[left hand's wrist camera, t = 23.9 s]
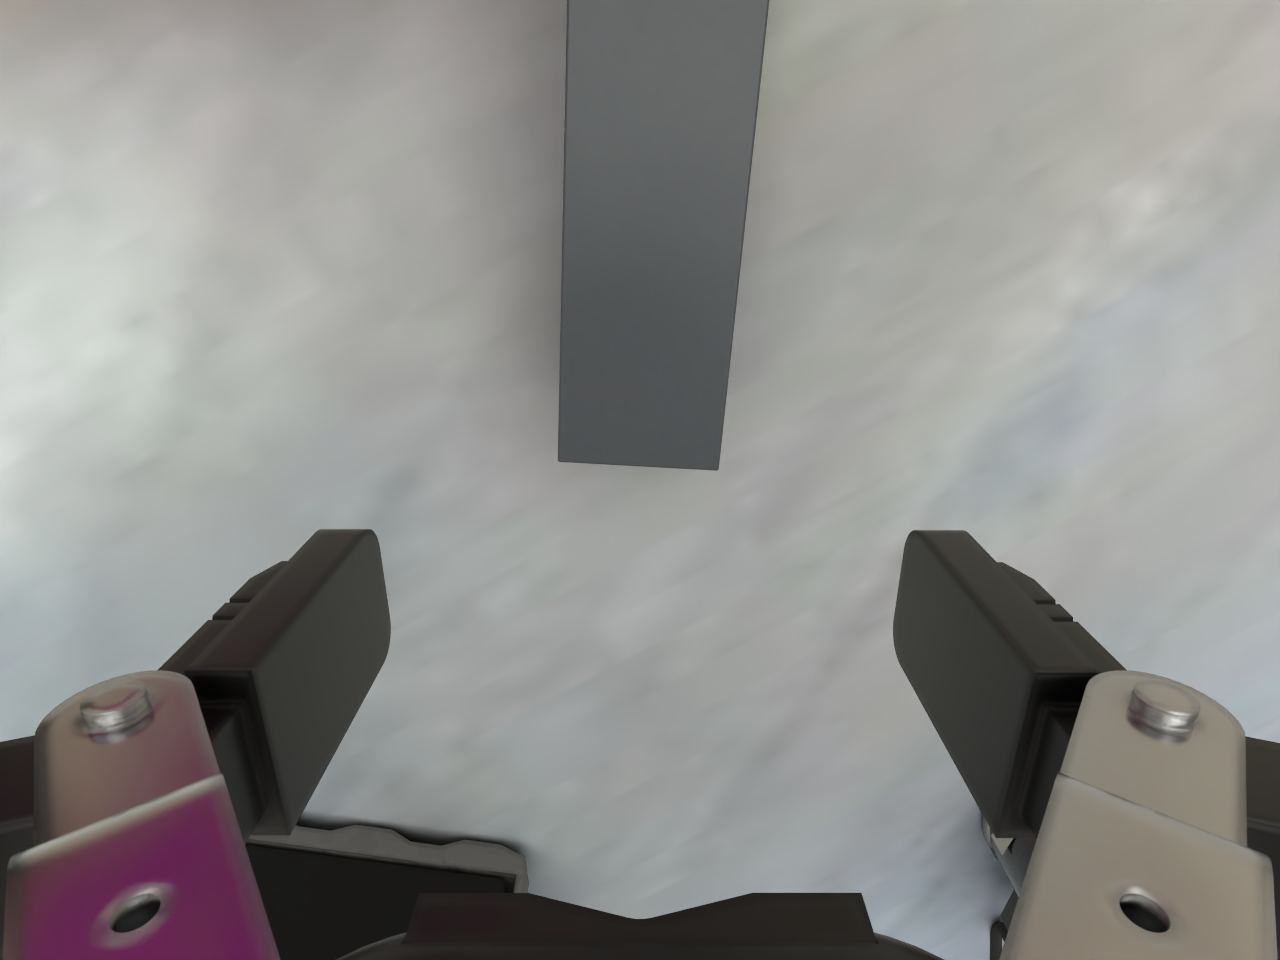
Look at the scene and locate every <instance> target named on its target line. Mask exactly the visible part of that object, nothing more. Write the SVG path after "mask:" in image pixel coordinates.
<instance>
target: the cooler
mask: <svg viewBox="0 0 1280 960" xmlns="http://www.w3.org/2000/svg"><path fill="white" fill-rule="evenodd" d="M245 847H246V850H247V853H248V856H249V860H250V863H251V866H252V869H253V873H254V876H255V879H256V882H257V885H258V889H259V892H260V895H261V898H262V901H263V905H264V908H265V911H266V914H267V918H268V921H269V924H270V927H271V930H272V934H273V937H274V940H275V943H276V946H277V950H278V953H279V956H280V959H281V960H336V959H338V958H340V957H343V956H345V955H347V954H349V953H351V952H353V951H355V950H357V949H360V948H362V947H364V946H366V945H369V944H372V943H375V942H378V941H380V940H383V939H386V938H389V937H392V936H395V935H399V934H403V933H406V932H407V929H408V926H409V922H410V919H411V916H412V913H413V910H414V907H415V903H416V900H417V897H418V894H419V893H527V892H528V885H529V881H528V875H527V869H526V863H525V857H524V856H522V855H520V854H518V853H516V852H514V851H512V850H510V849H508V848H506V847H504V846H502V845H500V844H493V843H486V842H479V841H471V840H461V841H458V842H454V843H450V844H446V845H442V846H440V845H432V844H425V843H418V842H410V841H409V840H407V839H406V838H404V837H403V836H401V835H400V834H398V833H397V832H395V831H394V830H392V829H384V828H377V827H370V826H362V825H352V826H348V827H344V828H339V829H335V830H331V831H329V830H322V829H314V828H307V827H300V826H297V825H295V827H294V829H293V831H292V833H291V834H290V836H250V837H249V839H248V840H247V842H246V844H245Z"/></svg>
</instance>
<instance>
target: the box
mask: <svg viewBox="0 0 1280 960" xmlns="http://www.w3.org/2000/svg"><path fill="white" fill-rule="evenodd" d="M768 7H769V0H567V41H566V90H565V139H564V188H563V237H562V286H561V335H560V383H559V432H558V461H559V462H574V463H592V464H610V465H628V466H646V467H664V468H682V469H700V470H718V469H719V460H720V451H721V441H722V432H723V423H724V414H725V404H726V395H727V386H728V377H729V367H730V358H731V349H732V340H733V330H734V321H735V312H736V303H737V293H738V284H739V275H740V266H741V256H742V247H743V238H744V229H745V219H746V210H747V201H748V192H749V182H750V173H751V164H752V155H753V146H754V136H755V127H756V118H757V109H758V99H759V90H760V81H761V72H762V62H763V53H764V44H765V35H766V25H767V16H768Z"/></svg>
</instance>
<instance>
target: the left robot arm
mask: <svg viewBox="0 0 1280 960" xmlns="http://www.w3.org/2000/svg"><path fill="white" fill-rule="evenodd" d="M390 634H391V624H390V615H389V608H388V601H387V594H386V587H385V580H384V573H383V566H382V560H381V553H380V546H379V542H378V538H377V536H376V534H375V533H374V531H373V530H371V529H320V530H318V531H317V532H316V533H315V534H314V535H313V536H312V537H311V538H310V539H309V540H308V541H307V542H306V543H305V544H304V545H303V546H302V547H301V548H300V549H299V550H298V551H297V552H296V554H295V555H294V556H293V557H292V558H291V559H290V560H289V561H281V562H279V563H278V564H276V565H274V566H272V567H270V568H269V569H267V570H265V571H263V572H261V573H259V574H258V575H256V576H254V577H252V578H250V579H249V580H248V581H247V582H246V583H245V584H244V585H243V586H242V587H241V588H240V589H239V590H238V591H237V592H236V593H235V594H234V595H233V596H232V597H231V598H230V603H225V604H224V605H223V606H222V607H221V608H220V609H219V610H218V611H217V612H216V613H215V614H214V615H213V619H212V620H208V621H207V622H206V623H205V624H204V625H203V626H202V627H201V628H200V629H199V630H198V631H197V632H196V633H195V634H194V635H193V636H192V637H191V638H190V639H189V640H188V641H187V642H186V643H185V644H184V645H183V646H182V647H181V648H180V649H179V650H178V651H177V652H176V653H175V654H174V655H173V656H172V657H171V658H170V659H169V660H168V661H166V662H165V663H164V664H163V665H162V666H161V667H160V668H159V669H158V670H157V671H144V672H137V673H132V674H126V675H123V676H119V677H115V678H112V679H109V680H106V681H103V682H101V683H98V684H96V685H93V686H91V687H89V688H87V689H85V690H83V691H81V692H79V693H77V694H75V695H73V696H72V697H70V698H68V699H67V700H65V701H64V702H62V703H61V704H60V705H58V706H57V707H56V708H54V709H53V710H52V711H51V712H50V713H49V714H48V715H47V716H46V717H45V718H44V719H43V720H42V722H41V723H40V724H39V726H38V728H37V730H36V733H35V736H30V737H24V738H19V739H14V740H9V741H4V742H0V960H281V959H280V956H279V953H278V950H277V946H276V943H275V940H274V937H273V934H272V930H271V927H270V924H269V921H268V918H267V914H266V911H265V908H264V905H263V901H262V898H261V895H260V892H259V889H258V885H257V882H256V879H255V876H254V873H253V869H252V866H251V863H250V860H249V856H248V853H247V850H246V847H245V844H246V842H247V840H248V839H249V837H250V836H290V834H291V833H292V831H293V829H294V827H295V825H296V823H297V822H298V820H299V818H300V816H301V814H302V812H303V811H304V809H305V807H306V805H307V803H308V801H309V800H310V798H311V796H312V794H313V792H314V790H315V789H316V787H317V785H318V783H319V781H320V779H321V777H322V776H323V774H324V772H325V770H326V768H327V766H328V765H329V763H330V761H331V759H332V757H333V755H334V754H335V752H336V750H337V748H338V746H339V744H340V743H341V741H342V739H343V737H344V735H345V733H346V732H347V730H348V728H349V726H350V724H351V722H352V721H353V719H354V717H355V715H356V713H357V711H358V710H359V708H360V706H361V704H362V702H363V700H364V698H365V697H366V695H367V693H368V691H369V689H370V687H371V686H372V684H373V682H374V680H375V678H376V676H377V675H378V673H379V671H380V669H381V667H382V665H383V664H384V661H385V659H386V656H387V653H388V649H389V643H390ZM893 637H894V646H895V651H896V655H897V658H898V661H899V663H900V665H901V667H902V669H903V671H904V672H905V674H906V676H907V678H908V680H909V681H910V683H911V685H912V687H913V689H914V691H915V692H916V694H917V696H918V698H919V700H920V701H921V703H922V705H923V707H924V709H925V710H926V712H927V714H928V716H929V718H930V720H931V721H932V723H933V725H934V727H935V729H936V730H937V732H938V734H939V736H940V738H941V740H942V741H943V743H944V745H945V747H946V749H947V750H948V752H949V754H950V756H951V758H952V759H953V761H954V763H955V765H956V767H957V769H958V770H959V772H960V774H961V776H962V778H963V779H964V781H965V783H966V785H967V787H968V789H969V790H970V792H971V794H972V796H973V798H974V799H975V801H976V803H977V805H978V807H979V808H980V810H981V812H982V814H983V818H982V828H983V833H984V836H985V839H986V841H987V843H988V844H989V846H990V848H991V850H992V852H993V854H994V855H995V857H996V858H997V859H998V860H999V862H1000V863H1001V865H1002V867H1003V869H1004V871H1005V873H1006V875H1007V876H1008V878H1009V880H1010V882H1011V884H1012V886H1013V888H1014V891H1013V893H1012V895H1011V897H1010V899H1009V901H1008V902H1007V904H1006V906H1005V908H1004V910H1003V912H1002V914H1001V918H1002V920H1003V922H997V923H995V924H993V926H992V928H991V931H990V960H1280V743H1276V742H1271V741H1265V740H1260V739H1255V738H1250V737H1246V736H1245V733H1244V730H1243V728H1242V726H1241V724H1240V723H1239V722H1238V720H1237V719H1236V718H1235V717H1234V716H1233V715H1232V714H1231V713H1230V712H1229V711H1228V710H1227V709H1226V708H1224V707H1223V706H1222V705H1220V704H1219V703H1218V702H1216V701H1215V700H1213V699H1212V698H1210V697H1208V696H1207V695H1205V694H1203V693H1201V692H1199V691H1197V690H1195V689H1193V688H1191V687H1189V686H1187V685H1184V684H1182V683H1179V682H1177V681H1174V680H1171V679H1168V678H1165V677H1161V676H1157V675H1154V674H1148V673H1143V672H1136V671H1127V670H1126V669H1125V668H1124V667H1123V666H1122V665H1121V664H1120V663H1119V662H1118V661H1117V660H1116V659H1115V658H1114V657H1113V656H1112V655H1111V654H1110V653H1109V652H1108V651H1107V650H1106V649H1105V648H1104V647H1103V646H1102V645H1100V644H1099V643H1098V642H1097V641H1096V640H1095V639H1094V638H1093V637H1092V636H1091V635H1090V634H1089V633H1088V632H1087V631H1086V630H1085V629H1084V628H1083V627H1082V626H1081V625H1080V624H1079V623H1078V622H1073V617H1072V616H1071V615H1070V614H1069V613H1068V612H1067V611H1066V610H1065V609H1064V608H1063V607H1062V606H1061V605H1060V604H1056V603H1055V599H1054V598H1053V597H1052V596H1051V595H1050V594H1049V593H1048V592H1047V591H1045V590H1044V589H1043V588H1042V587H1041V586H1040V585H1039V584H1038V583H1037V582H1036V581H1035V580H1034V579H1032V578H1030V577H1029V576H1027V575H1025V574H1023V573H1021V572H1019V571H1018V570H1016V569H1014V568H1012V567H1010V566H1008V565H1007V564H1005V563H1003V562H996V561H995V560H994V559H993V558H992V557H991V556H990V555H989V554H988V553H987V552H986V551H985V550H984V549H983V548H982V547H981V546H980V545H979V544H978V543H977V541H976V540H975V539H974V538H973V537H972V536H971V535H970V534H969V533H968V532H966V531H963V530H914V531H912V532H911V533H910V534H909V535H908V537H907V540H906V543H905V547H904V554H903V560H902V567H901V574H900V581H899V588H898V594H897V601H896V608H895V615H894V623H893ZM1002 938H1003V940H1004V942H1005V943H1004V946H1003V950H1002ZM336 960H944V959H942V958H940V957H937V956H935V955H933V954H931V953H929V952H927V951H925V950H923V949H920V948H918V947H916V946H914V945H911V944H908V943H905V942H902V941H900V940H897V939H894V938H891V937H888V936H885V935H881V934H877V933H874V932H873V929H872V926H871V922H870V919H869V916H868V913H867V910H866V907H865V903H864V900H863V897H862V894H861V893H750V894H746V895H742V896H738V897H734V898H730V899H726V900H722V901H718V902H714V903H710V904H706V905H702V906H698V907H694V908H690V909H686V910H682V911H678V912H674V913H670V914H666V915H662V916H658V917H654V918H648V919H632V918H626V917H622V916H618V915H614V914H610V913H606V912H602V911H598V910H594V909H590V908H586V907H582V906H578V905H574V904H570V903H566V902H562V901H558V900H554V899H550V898H546V897H542V896H538V895H534V894H530V893H419V894H418V897H417V900H416V903H415V907H414V910H413V913H412V916H411V919H410V922H409V926H408V929H407V932H406V933H403V934H399V935H395V936H392V937H389V938H386V939H383V940H380V941H378V942H375V943H372V944H369V945H366V946H364V947H362V948H360V949H357V950H355V951H353V952H351V953H349V954H347V955H345V956H343V957H340V958H338V959H336Z"/></svg>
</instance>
